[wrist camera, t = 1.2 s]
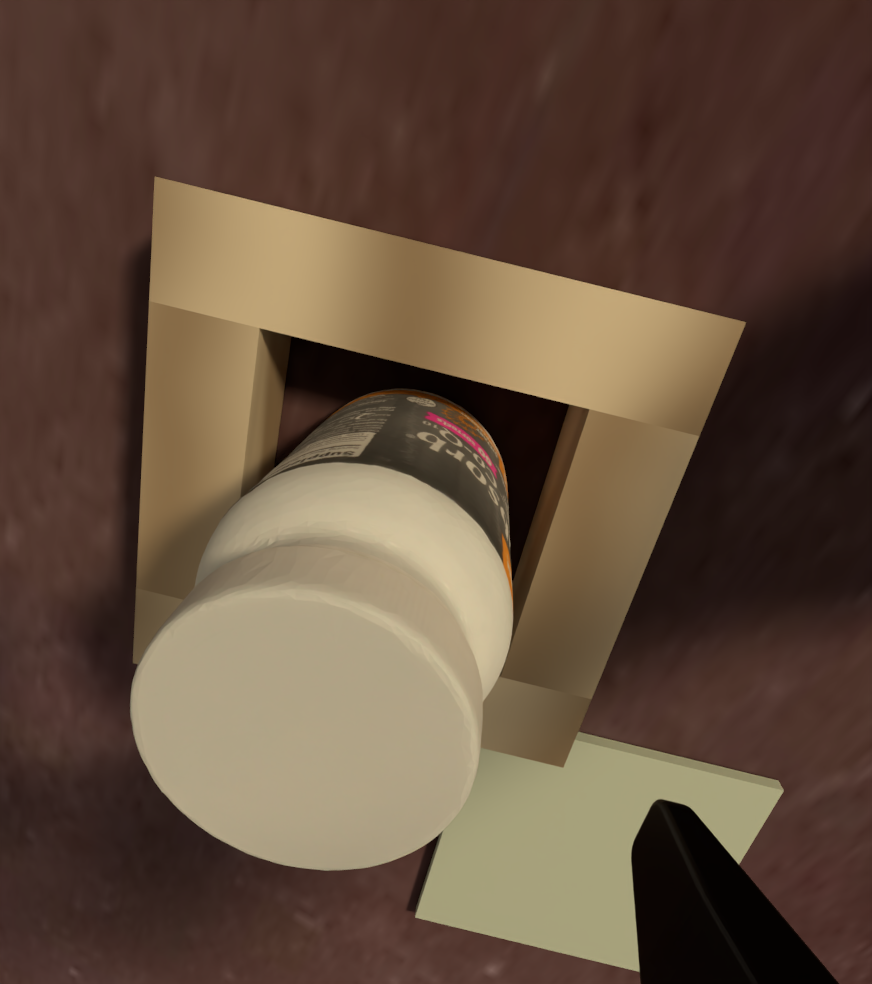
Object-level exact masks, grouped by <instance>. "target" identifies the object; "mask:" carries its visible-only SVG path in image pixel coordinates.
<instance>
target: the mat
mask: <svg viewBox="0 0 872 984" xmlns="http://www.w3.org/2000/svg"><path fill="white" fill-rule="evenodd" d="M783 791H784V790H783V788H782V787H781V785H780V783H779V781H778V780H774V779H770V778H766V777H761V776H757V775H753V774H749V773H745V772H741V771H737V770H733V769H729V768H725V767H720V766H716V765H712V764H708V763H704V762H700V761H696V760H692V759H688V758H683V757H679V756H675V755H671V754H667V753H663V752H659V751H655V750H651V749H647V748H642V747H638V746H634V745H630V744H626V743H622V742H618V741H614V740H610V739H606V738H601V737H597V736H593V735H589V734H585V733H581V732H578V733H577V736H576V738H575V741H574V743H573V745H572V748H571V750H570V753H569V755H568V758H567V760H566V763H565V765H564V767H563V768H562V767H558V766H554V765H549V764H545V763H541V762H537V761H533V760H529V759H525V758H521V757H517V756H512V755H508V754H504V753H500V752H496V751H492V750H488V749H484V748H481V749H480V757H479V763H478V769H477V774H476V777H475V779H474V782H473V785H472V788H471V791H470V794H469V796H468V798H467V800H466V802H465V804H464V805H463V807H462V809H461V810H460V811H459V813H458V814H457V815H456V817H455V818H454V819H453V820H452V821H451V823H450V824H449V825H448V826H447V827H446V828H445V829H444V830H443V831H442V832H441V833H440V835H439V838H438V841H437V844H436V847H435V850H434V853H433V856H432V859H431V863H430V866H429V869H428V872H427V875H426V878H425V881H424V884H423V887H422V890H421V893H420V896H419V899H418V903H417V906H416V912H415V918H420V919H424V920H428V921H432V922H436V923H440V924H444V925H448V926H453V927H457V928H461V929H465V930H469V931H473V932H477V933H481V934H486V935H490V936H494V937H498V938H502V939H506V940H510V941H514V942H519V943H523V944H527V945H531V946H535V947H539V948H543V949H547V950H552V951H556V952H560V953H564V954H568V955H572V956H576V957H580V958H585V959H589V960H593V961H597V962H601V963H605V964H609V965H613V966H618V967H622V968H626V969H630V970H634V971H638V972H640V971H639V958H638V944H637V931H636V918H635V905H634V892H633V879H632V866H631V851H632V845H633V842H634V839H635V837H636V835H637V833H638V831H639V829H640V827H641V825H642V823H643V821H644V819H645V817H646V815H647V813H648V811H649V809H650V807H651V805H652V804H653V802H655V801H656V800H658V799H664V800H668V801H672V802H676V803H680V804H684V805H686V806H688V807H690V808H691V809H692V810H693V811H694V812H695V813H696V814H697V815H698V817H699V818H700V819H701V820H702V821H703V823H704V824H705V825H706V826H707V827H708V829H709V830H710V831H711V832H712V833H713V834H714V836H715V837H716V838H717V839H718V840H719V842H720V843H721V844H722V845H723V846H724V848H725V849H726V850H727V851H728V852H729V853H730V855H731V856H732V857H733V858H734V859H735V861H736V862H737V863H738V864H740V862H741V860H742V859H743V857H744V855H745V854H746V852H747V850H748V849H749V847H750V845H751V844H752V842H753V841H754V839H755V837H756V836H757V834H758V832H759V831H760V829H761V827H762V826H763V824H764V822H765V821H766V819H767V817H768V816H769V814H770V813H771V811H772V809H773V808H774V806H775V804H776V803H777V801H778V799H779V798H780V796H781V794H782V793H783Z"/></svg>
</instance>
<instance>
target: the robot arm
mask: <svg viewBox="0 0 872 984" xmlns="http://www.w3.org/2000/svg"><path fill="white" fill-rule="evenodd" d="M631 866H632V879H633V892H634V905H635V918H636V931H637V944H638V958H639V971H640V981H641V984H839V983H838V982H837V981H836V979H835V978H834V977H833V976H832V975H831V973H830V972H829V971H828V970H827V969H826V968H825V966H824V965H823V964H822V963H821V962H820V960H819V959H818V958H817V957H816V956H815V954H814V953H813V952H812V951H811V950H810V948H809V947H808V946H807V945H806V944H805V943H804V941H803V940H802V939H801V938H800V937H799V935H798V934H797V933H796V932H795V931H794V929H793V928H792V927H791V926H790V925H789V924H788V922H787V921H786V920H785V919H784V918H783V916H782V915H781V914H780V913H779V912H778V910H777V909H776V908H775V907H774V906H773V905H772V903H771V902H770V901H769V900H768V899H767V897H766V896H765V895H764V894H763V893H762V891H761V890H760V889H759V888H758V887H757V886H756V884H755V883H754V882H753V881H752V880H751V878H750V877H749V876H748V875H747V874H746V872H745V871H744V870H743V869H742V868H741V867H740V865H739V864H738V863H737V862H736V861H735V859H734V858H733V857H732V856H731V855H730V853H729V852H728V851H727V850H726V849H725V848H724V846H723V845H722V844H721V843H720V842H719V840H718V839H717V838H716V837H715V836H714V834H713V833H712V832H711V831H710V830H709V829H708V827H707V826H706V825H705V824H704V823H703V821H702V820H701V819H700V818H699V817H698V815H697V814H696V813H695V812H694V811H693V810H692V809H691V808H690V807H688V806H686V805H684V804H680V803H676V802H672V801H668V800H664V799H658V800H656V801H655V802H653V804H652V805H651V807H650V809H649V811H648V813H647V815H646V817H645V819H644V821H643V823H642V825H641V827H640V829H639V831H638V833H637V835H636V837H635V839H634V842H633V845H632V851H631Z"/></svg>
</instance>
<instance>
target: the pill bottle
mask: <svg viewBox="0 0 872 984" xmlns="http://www.w3.org/2000/svg"><path fill="white" fill-rule="evenodd" d="M512 627H513V590H512V570H511V555H510V529H509V505H508V486H507V478H506V473H505V468H504V464H503V461H502V458H501V456H500V453H499V451H498V449H497V447H496V445H495V443H494V441H493V440H492V438H491V436H490V435H489V433H488V432H487V431H486V429H485V428H484V427H483V426H482V425H481V423H480V422H479V421H478V420H477V419H476V418H475V417H473V416H472V415H471V414H470V413H469V412H468V411H466V410H465V409H464V408H462V407H461V406H459V405H457V404H455V403H454V402H452V401H450V400H448V399H446V398H444V397H441V396H439V395H436V394H433V393H429V392H425V391H420V390H416V389H388V390H381V391H376V392H372V393H369V394H366V395H364V396H361V397H359V398H357V399H355V400H353V401H351V402H349V403H347V404H346V405H344V406H343V407H342V408H340V409H339V410H337V411H336V412H334V413H333V414H332V415H331V416H330V417H329V418H327V419H326V420H325V421H324V422H323V423H322V424H321V425H319V426H318V427H317V428H316V429H315V430H314V431H313V432H312V433H311V434H310V435H309V436H308V437H307V438H306V439H305V440H304V441H303V442H302V443H300V444H299V445H298V446H297V447H296V448H295V449H294V451H293V452H292V453H291V454H289V455H288V457H287V458H286V459H284V460H283V461H282V462H281V463H280V464H279V465H278V466H276V467H275V468H274V469H273V470H271V472H269V473H268V474H267V475H266V476H265V477H264V478H263V479H262V480H261V481H260V482H259V483H258V484H257V485H255V486H254V487H253V488H251V489H250V491H249V492H248V493H247V494H245V495H244V496H243V497H242V498H240V499H239V500H238V501H237V502H236V503H235V504H234V505H233V506H232V507H231V508H230V509H229V510H228V512H227V513H226V514H225V515H224V516H223V518H222V519H221V520H220V522H219V524H218V526H217V528H216V529H215V531H214V533H213V534H212V536H211V538H210V540H209V542H208V544H207V546H206V549H205V551H204V553H203V556H202V558H201V561H200V564H199V567H198V572H197V576H196V581H195V587H194V588H193V590H192V591H191V592H190V593H189V594H188V595H187V597H186V598H185V599H184V600H183V601H182V603H181V604H180V605H179V606H178V607H177V609H176V610H175V611H174V612H173V613H172V614H171V616H170V617H169V618H168V619H167V620H166V622H165V623H164V624H163V625H162V626H161V627H160V629H159V630H158V631H157V633H156V634H155V636H154V637H153V639H152V640H151V642H150V643H149V645H148V646H147V648H146V649H145V651H144V653H143V655H142V657H141V659H140V661H139V663H138V666H137V668H136V671H135V674H134V678H133V682H132V686H131V698H130V716H131V721H132V728H133V734H134V738H135V742H136V745H137V748H138V750H139V753H140V755H141V757H142V759H143V761H144V763H145V765H146V766H147V768H148V771H149V773H150V775H151V777H152V778H153V780H154V781H155V783H156V784H157V786H158V787H159V788H160V790H161V791H162V792H163V793H164V794H165V795H166V796H167V797H168V798H169V800H170V801H171V802H172V803H173V804H174V805H175V806H176V807H177V808H178V809H179V810H180V811H181V812H182V813H183V814H184V815H186V816H187V817H188V818H189V819H190V820H192V821H193V822H194V823H195V824H196V825H198V826H199V827H201V828H202V829H203V830H205V831H206V832H208V833H209V834H210V835H212V836H214V837H215V838H217V839H219V840H221V841H223V842H225V843H227V844H229V845H231V846H233V847H235V848H237V849H239V850H241V851H243V852H245V853H247V854H249V855H252V856H255V857H258V858H261V859H264V860H268V861H271V862H274V863H277V864H281V865H286V866H292V867H298V868H307V869H316V870H325V871H329V870H349V869H359V868H367V867H372V866H376V865H380V864H383V863H387V862H390V861H393V860H395V859H398V858H400V857H403V856H405V855H407V854H409V853H412V852H414V851H416V850H417V849H419V848H421V847H422V846H424V845H426V844H427V843H429V842H430V841H431V840H433V839H434V838H435V837H437V836H438V835H439V834H440V833H441V832H442V831H443V830H444V829H445V828H446V827H447V826H448V825H449V824H450V823H451V821H452V820H453V819H454V818H455V817H456V815H457V814H458V813H459V811H460V810H461V809H462V807H463V805H464V804H465V802H466V800H467V798H468V796H469V794H470V791H471V788H472V785H473V782H474V779H475V777H476V774H477V769H478V763H479V757H480V749H481V734H482V721H483V701H484V700H485V698H486V697H487V696H488V694H489V693H490V691H491V690H492V688H493V686H494V685H495V683H496V681H497V679H498V677H499V675H500V673H501V671H502V668H503V666H504V663H505V660H506V657H507V654H508V650H509V646H510V641H511V636H512Z"/></svg>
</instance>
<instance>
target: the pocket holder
mask: <svg viewBox="0 0 872 984" xmlns="http://www.w3.org/2000/svg"><path fill="white" fill-rule="evenodd" d="M745 324H746V322H743V321H739V320H734V319H730V318H726V317H722V316H718V315H714V314H710V313H706V312H702V311H698V310H694V309H690V308H686V307H682V306H678V305H674V304H670V303H666V302H661V301H657V300H653V299H649V298H645V297H641V296H637V295H633V294H629V293H625V292H621V291H617V290H613V289H609V288H605V287H601V286H597V285H593V284H589V283H584V282H580V281H576V280H572V279H568V278H564V277H560V276H556V275H552V274H548V273H544V272H540V271H536V270H532V269H528V268H524V267H520V266H516V265H511V264H507V263H503V262H499V261H495V260H491V259H487V258H483V257H479V256H475V255H471V254H467V253H463V252H459V251H455V250H451V249H447V248H443V247H438V246H434V245H430V244H426V243H422V242H418V241H414V240H410V239H406V238H402V237H398V236H394V235H390V234H386V233H382V232H378V231H374V230H370V229H365V228H361V227H357V226H353V225H349V224H345V223H341V222H337V221H333V220H329V219H325V218H321V217H317V216H313V215H309V214H305V213H301V212H297V211H293V210H288V209H284V208H280V207H276V206H272V205H268V204H264V203H260V202H256V201H252V200H248V199H244V198H240V197H236V196H232V195H228V194H224V193H220V192H215V191H211V190H207V189H203V188H199V187H195V186H191V185H187V184H183V183H179V182H175V181H171V180H167V179H163V178H159V177H155V183H154V205H153V227H152V249H151V271H150V293H149V315H148V337H147V359H146V381H145V403H144V425H143V447H142V469H141V492H140V514H139V536H138V558H137V580H136V602H135V624H134V646H133V663H135V664H138V663H139V661H140V659H141V657H142V655H143V653H144V651H145V649H146V648H147V646H148V645H149V643H150V642H151V640H152V639H153V637H154V636H155V634H156V633H157V631H158V630H159V629H160V627H161V626H162V625H163V624H164V623H165V622H166V620H167V619H168V618H169V617H170V616H171V614H172V613H173V612H174V611H175V610H176V609H177V607H178V606H179V605H180V604H181V603H182V601H183V600H184V599H185V598H186V597H187V595H188V594H189V593H190V592H191V591H192V590H193V588H194V587H195V581H196V576H197V572H198V567H199V564H200V561H201V558H202V556H203V553H204V551H205V549H206V546H207V544H208V542H209V540H210V538H211V536H212V534H213V533H214V531H215V529H216V528H217V526H218V524H219V522H220V520H221V519H222V518H223V516H224V515H225V514H226V513H227V512H228V510H229V509H230V508H231V507H232V506H233V505H234V504H235V503H236V502H237V501H238V500H239V499H240V498H242V497H243V496H244V495H245V494H247V493H248V492H249V491H250V489H251V488H253V487H254V486H255V485H257V484H258V483H259V482H260V481H261V480H262V479H263V478H264V477H265V476H266V475H267V474H268V473H269V472H271V470H273V469H274V464H275V456H276V449H277V441H278V434H279V426H280V419H281V412H282V404H283V397H284V389H285V382H286V374H287V367H288V359H289V352H290V344H291V337H292V336H294V337H298V338H302V339H306V340H310V341H314V342H318V343H322V344H326V345H330V346H334V347H338V348H342V349H346V350H351V351H355V352H359V353H363V354H367V355H371V356H375V357H379V358H383V359H387V360H391V361H395V362H399V363H403V364H407V365H412V366H416V367H420V368H424V369H428V370H432V371H436V372H440V373H444V374H448V375H452V376H456V377H460V378H464V379H469V380H473V381H477V382H481V383H485V384H489V385H493V386H497V387H501V388H505V389H509V390H513V391H517V392H521V393H525V394H530V395H534V396H538V397H542V398H546V399H550V400H554V401H558V402H562V403H566V404H569V407H568V410H567V413H566V416H565V420H564V423H563V426H562V429H561V432H560V435H559V438H558V442H557V445H556V448H555V451H554V454H553V457H552V460H551V464H550V467H549V470H548V473H547V476H546V479H545V482H544V486H543V489H542V492H541V495H540V498H539V501H538V504H537V508H536V511H535V514H534V517H533V520H532V523H531V526H530V530H529V533H528V536H527V539H526V542H525V545H524V548H523V551H522V555H521V558H520V561H519V564H518V567H517V570H516V573H515V577H514V580H513V583H512V590H513V627H512V636H511V641H510V646H509V650H508V654H507V657H506V660H505V663H504V666H503V668H502V671H501V673H500V675H499V677H498V679H497V681H496V683H495V685H494V686H493V688H492V690H491V691H490V693H489V694H488V696H487V697H486V698H485V700H484V701H483V721H482V734H481V748H484V749H488V750H492V751H496V752H500V753H504V754H508V755H512V756H517V757H521V758H525V759H529V760H533V761H537V762H541V763H545V764H549V765H554V766H558V767H562V768H563V767H564V765H565V763H566V760H567V758H568V755H569V753H570V750H571V748H572V745H573V743H574V741H575V738H576V736H577V733H578V731H579V728H580V726H581V724H582V721H583V719H584V716H585V714H586V711H587V709H588V706H589V704H590V702H591V699H592V697H593V694H594V692H595V689H596V687H597V685H598V682H599V680H600V677H601V675H602V672H603V670H604V668H605V665H606V663H607V660H608V658H609V655H610V653H611V650H612V648H613V646H614V643H615V641H616V638H617V636H618V633H619V631H620V629H621V626H622V624H623V621H624V619H625V616H626V614H627V611H628V609H629V607H630V604H631V602H632V599H633V597H634V594H635V592H636V590H637V587H638V585H639V582H640V580H641V577H642V575H643V572H644V570H645V568H646V565H647V563H648V560H649V558H650V555H651V553H652V551H653V548H654V546H655V543H656V541H657V538H658V536H659V534H660V531H661V529H662V526H663V524H664V521H665V519H666V516H667V514H668V512H669V509H670V507H671V504H672V502H673V499H674V497H675V495H676V492H677V490H678V487H679V485H680V482H681V480H682V477H683V475H684V473H685V470H686V468H687V465H688V463H689V460H690V458H691V456H692V453H693V451H694V448H695V446H696V443H697V441H698V438H699V436H700V434H701V431H702V429H703V426H704V424H705V421H706V419H707V417H708V414H709V412H710V409H711V407H712V404H713V402H714V400H715V397H716V395H717V392H718V390H719V387H720V385H721V382H722V380H723V378H724V375H725V373H726V370H727V368H728V365H729V363H730V361H731V358H732V356H733V353H734V351H735V348H736V346H737V343H738V341H739V339H740V336H741V334H742V331H743V329H744V326H745Z"/></svg>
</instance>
